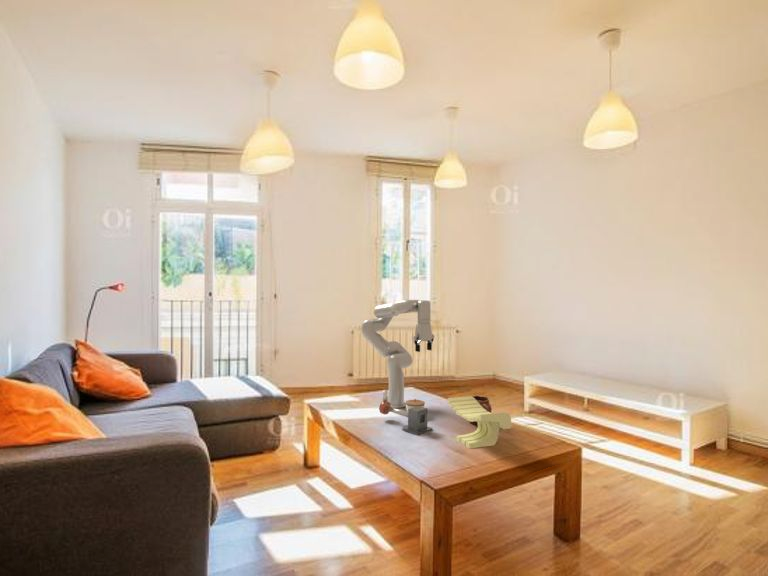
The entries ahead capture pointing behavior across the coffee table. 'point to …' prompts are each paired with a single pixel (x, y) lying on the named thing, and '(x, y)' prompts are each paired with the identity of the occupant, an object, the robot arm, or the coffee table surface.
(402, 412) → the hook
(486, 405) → the decorative planter
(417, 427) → the grey square peg socket
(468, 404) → the slatted curved stool
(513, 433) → the coffee table surface
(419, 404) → the lidded jar
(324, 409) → the coffee table surface
